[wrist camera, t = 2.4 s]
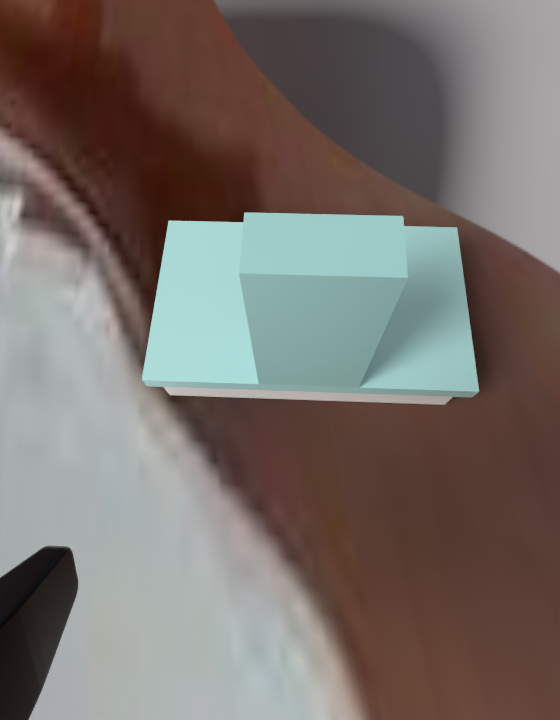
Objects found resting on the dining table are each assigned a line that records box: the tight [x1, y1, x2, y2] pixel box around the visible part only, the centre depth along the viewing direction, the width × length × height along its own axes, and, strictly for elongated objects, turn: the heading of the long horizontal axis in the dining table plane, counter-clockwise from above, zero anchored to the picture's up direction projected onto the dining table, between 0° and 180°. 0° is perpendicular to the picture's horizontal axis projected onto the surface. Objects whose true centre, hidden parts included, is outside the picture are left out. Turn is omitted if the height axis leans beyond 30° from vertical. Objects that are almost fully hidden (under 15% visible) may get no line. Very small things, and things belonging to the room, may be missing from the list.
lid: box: [142, 213, 479, 397], centre depth 18 cm, size 9×15×10 cm, turn 88°
